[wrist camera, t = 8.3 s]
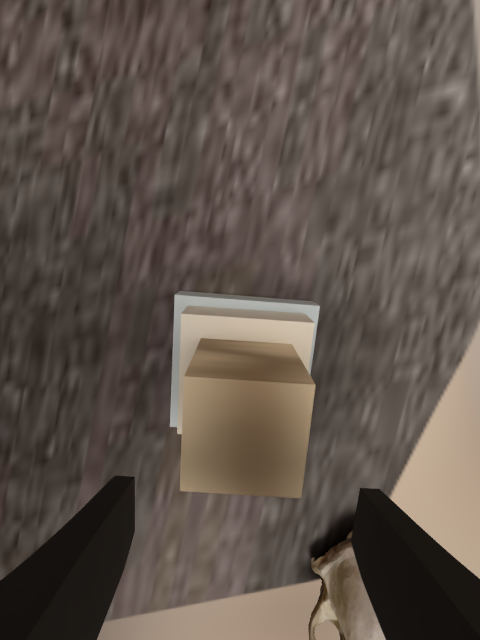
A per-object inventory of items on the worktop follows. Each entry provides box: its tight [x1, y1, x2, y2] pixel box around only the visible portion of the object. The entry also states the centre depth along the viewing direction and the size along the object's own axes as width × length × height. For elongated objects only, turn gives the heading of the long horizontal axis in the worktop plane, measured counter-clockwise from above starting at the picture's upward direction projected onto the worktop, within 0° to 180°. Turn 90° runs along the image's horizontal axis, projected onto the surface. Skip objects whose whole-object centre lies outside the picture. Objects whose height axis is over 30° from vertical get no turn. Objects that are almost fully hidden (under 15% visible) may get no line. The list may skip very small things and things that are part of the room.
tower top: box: [177, 305, 315, 434], centre depth 17 cm, size 6×6×2 cm
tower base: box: [170, 291, 320, 427], centre depth 20 cm, size 8×8×2 cm
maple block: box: [180, 338, 315, 498], centre depth 14 cm, size 4×4×5 cm
